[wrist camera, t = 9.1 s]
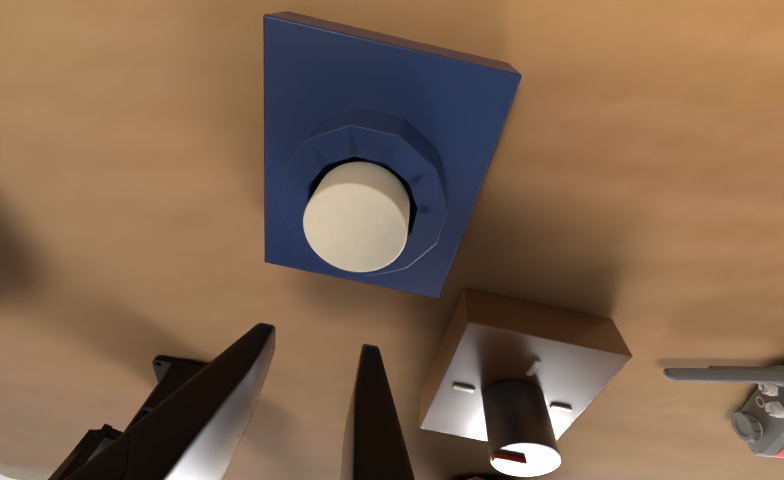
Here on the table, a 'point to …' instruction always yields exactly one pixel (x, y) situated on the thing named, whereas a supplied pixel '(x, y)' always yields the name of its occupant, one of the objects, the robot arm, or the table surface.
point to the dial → (519, 429)
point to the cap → (358, 217)
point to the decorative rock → (475, 478)
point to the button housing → (377, 136)
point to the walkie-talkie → (749, 403)
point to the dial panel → (518, 361)
